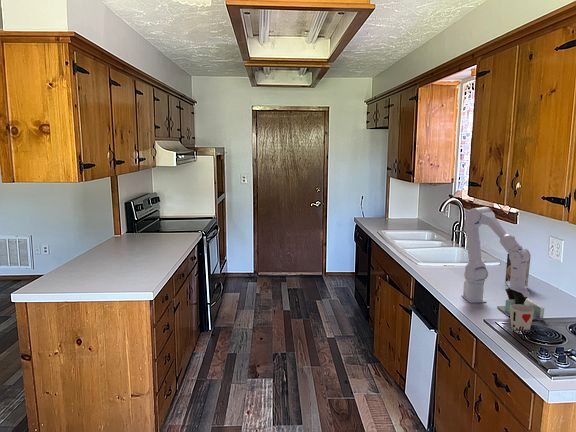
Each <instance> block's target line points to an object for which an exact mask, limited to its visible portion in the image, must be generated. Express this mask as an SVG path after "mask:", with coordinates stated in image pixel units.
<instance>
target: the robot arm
mask: <svg viewBox="0 0 576 432" xmlns="http://www.w3.org/2000/svg"><path fill="white" fill-rule="evenodd" d="M464 225H465V228H464V229H465V237H466V245H467V246H466V247H467V256H468V262H467V264H466V265H465V268H464V269H465V270H464V279H465V281H464V283H463V293H462V294H461V297H462V298H464V299H465V300H466V301H468V302H469V303H470V304H471V303H487V300H486V299H485V298H484V292H485V291H484V289H485V288H484V287H485V281H486V280H487V278H488V276H489V271H488V270H487V266H486V263H485V262H483V261H482V260H483V259H482V251H481V244H480V243H481V241H480V233H479V228H480V226H482V225H485V226H488V227H489V228H490V229H491V230H492V231H493V233H494V234H495V235H496V236H497V237H498V238H499V244H500V245H501V246H502V247H503V249H504V250H505V251H506V252H507V254H509V259H510V261H511V276H510V281H506V283H505V282H504V283H505V285H504V286H505V287H507V288H505V289H504V290H505V292H506V294H507V295H506V296H507V299H508V300H511V299H515V304H521V305H523V304H524V302H525V300H526V299H527V298H530V294H531V293H530V292H529V291H528V286H527V287H526V286H525V280H526V269H527V261H529V259H530V260H531V252H530V251H529V250H528V249H527V248H525V247H523V246H522V245H520V243H519V242H518V241H517V239H516V237H515V236H514V235H512V234H509V233H507V232H506V230H505V229H504V228H503V226H502V225H501V224H500V222H499V221H498V219H497V217H496V214H495V212H493V210H492V209H491V207H488V206H482V207H475V208H474V207H472V208H470V209H469V210H468V211H467V212H466V221H465V223H464Z"/></svg>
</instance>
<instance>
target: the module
mask: <svg viewBox="0 0 576 432" xmlns="http://www.w3.org/2000/svg"><path fill="white" fill-rule="evenodd" d="M513 304H515V299H511V300H509V299H505V304H504V306H505V311H506V312H508V313H509V314H510V306H511V305H513ZM523 305H525V302H524V304H523Z"/></svg>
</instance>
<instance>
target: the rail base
mask: <svg viewBox="0 0 576 432" xmlns="http://www.w3.org/2000/svg"><path fill="white" fill-rule="evenodd" d="M525 305H526V306H529V307H532V308H533V309H534V314H533V319H543V320H544V315H545V314H544V313H545V307H543V306H542V305H540V304H538V302H536V301H534V300H532V299H530V297H528V298H527V299H526V300H525ZM497 308H498V309H497ZM496 309H497V310H498V311H500V310H501V311H500V312H501V313H503V312H504V313H505V314H504V313H503V314H504V315H505V316H507V315H508V316H507V317H509V316H510V314H509V313H508V312H506V311H505V305H500V306H496Z"/></svg>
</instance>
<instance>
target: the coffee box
mask: <svg viewBox="0 0 576 432" xmlns="http://www.w3.org/2000/svg"><path fill="white" fill-rule="evenodd" d="M530 264H531V258H530V259H529V261H527V269H526V280H525V286H526V287H527V288H528V283H529V275H530V268H531V267H530V266H531V265H530ZM510 276H511V261H510V259H509V254H508V253H507V257H506V268H505V280H504V281H505V282H504V283H506V281H510Z"/></svg>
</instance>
